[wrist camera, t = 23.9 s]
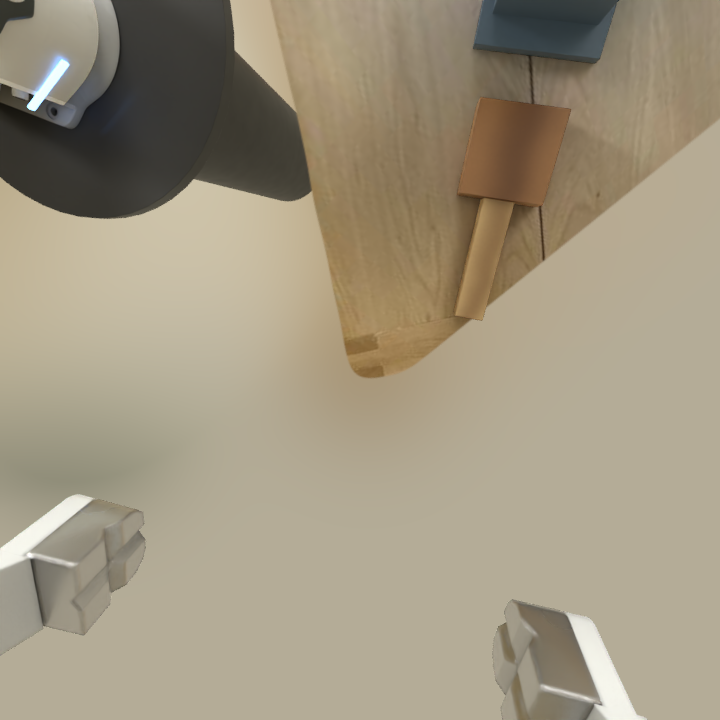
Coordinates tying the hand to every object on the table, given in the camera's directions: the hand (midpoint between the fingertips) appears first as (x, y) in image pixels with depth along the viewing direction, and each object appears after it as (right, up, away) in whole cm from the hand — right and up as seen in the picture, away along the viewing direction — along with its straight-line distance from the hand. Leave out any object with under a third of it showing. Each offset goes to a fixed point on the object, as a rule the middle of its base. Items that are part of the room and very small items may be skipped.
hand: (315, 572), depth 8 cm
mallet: (+15, +19, +31) cm, 39 cm away
